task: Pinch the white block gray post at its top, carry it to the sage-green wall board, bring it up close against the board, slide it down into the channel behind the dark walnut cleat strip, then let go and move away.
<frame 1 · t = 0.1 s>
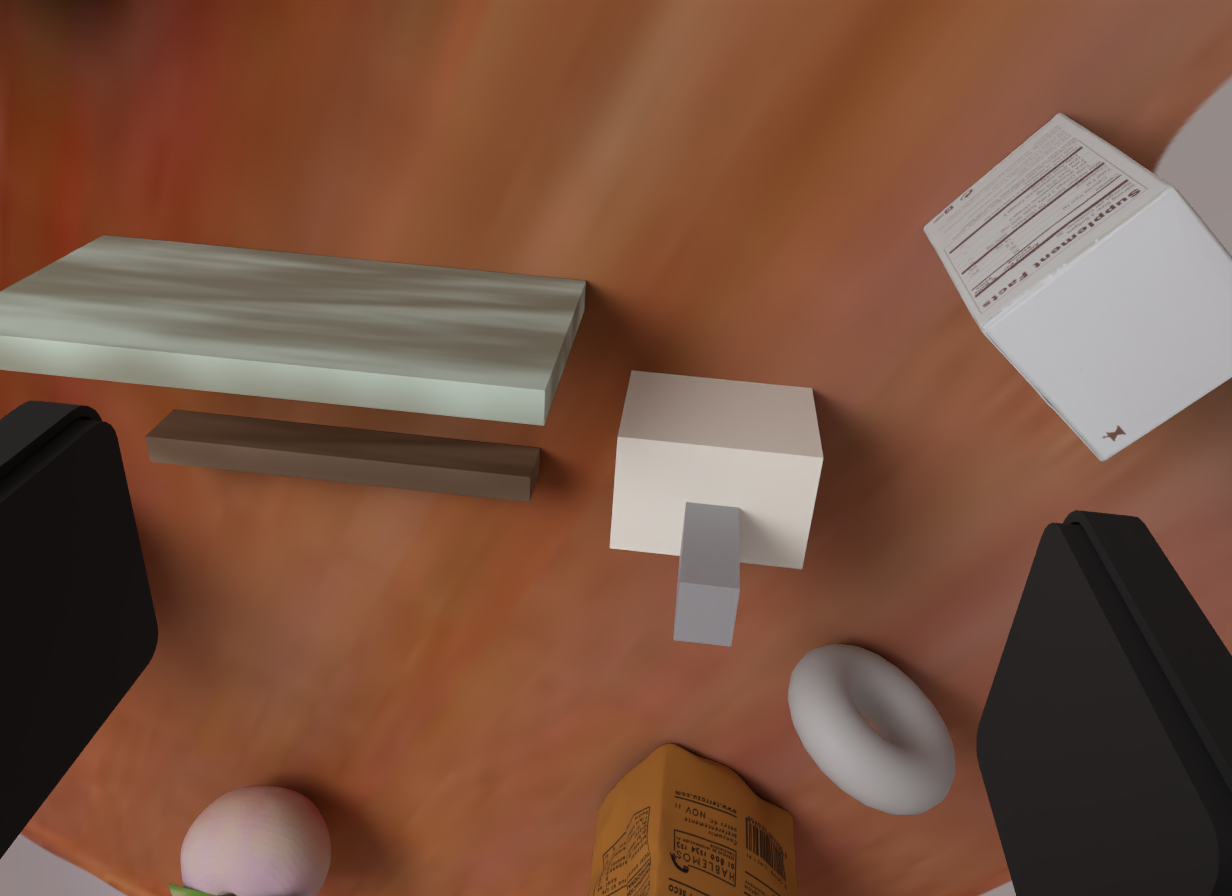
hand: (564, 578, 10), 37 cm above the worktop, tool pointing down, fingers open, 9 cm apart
decorative fruit: (285, 787, 68), on the worktop
supplement box: (1034, 224, 44), on the worktop
white block gray post: (714, 431, 51), on the worktop
coffee package: (697, 807, 65), on the worktop
wall board: (349, 360, 51), on the worktop
donut: (860, 659, 57), on the worktop
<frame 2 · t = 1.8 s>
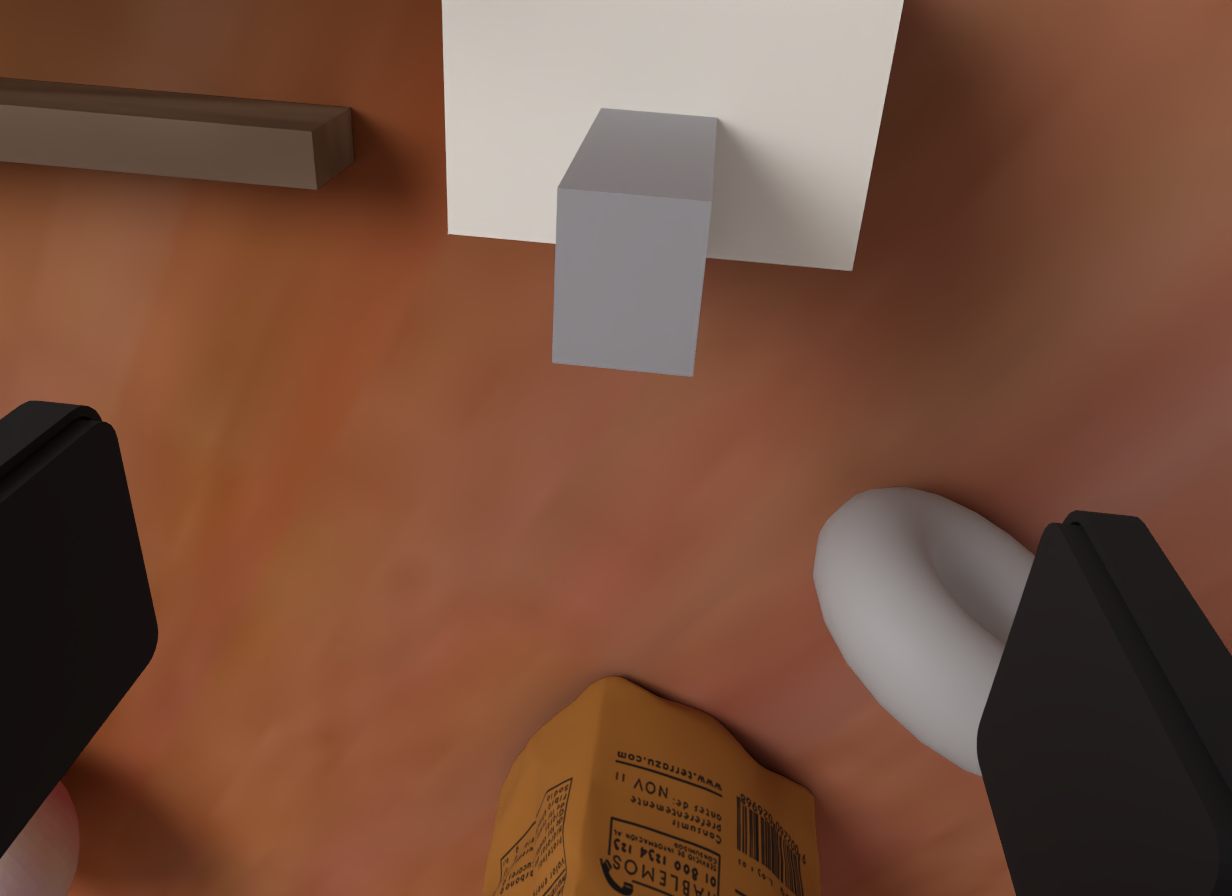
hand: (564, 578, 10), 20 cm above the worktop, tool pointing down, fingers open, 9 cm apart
decorative fruit: (26, 751, 44), on the worktop
white block gray post: (675, 57, 26), on the worktop
coffee package: (662, 781, 41), on the worktop
donut: (935, 524, 33), on the worktop
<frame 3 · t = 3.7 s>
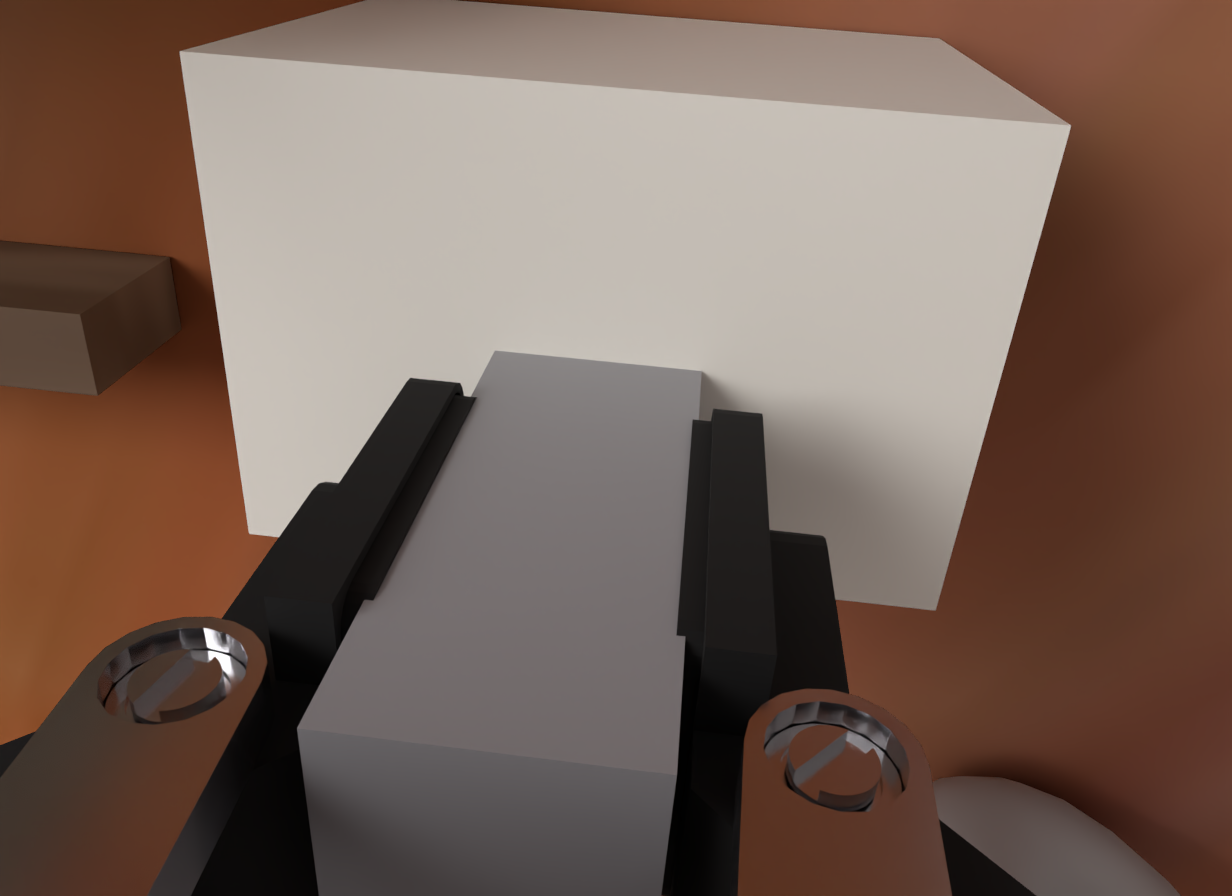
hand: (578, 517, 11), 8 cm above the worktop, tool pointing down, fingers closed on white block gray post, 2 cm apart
white block gray post: (644, 200, 17), on the worktop, touching gripper
donut: (1011, 803, 24), on the worktop
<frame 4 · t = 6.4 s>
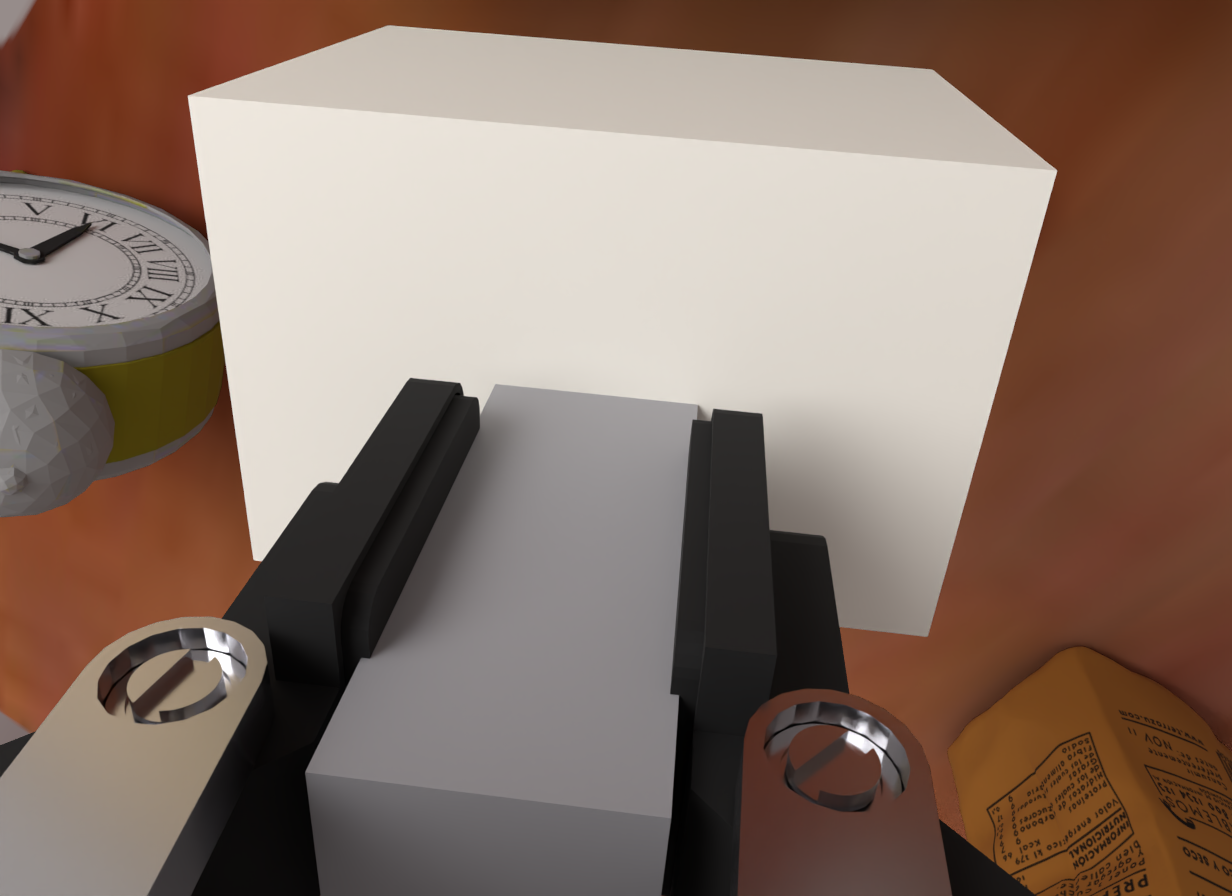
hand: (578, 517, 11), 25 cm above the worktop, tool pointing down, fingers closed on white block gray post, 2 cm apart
alarm clock: (149, 261, 38), on the worktop
white block gray post: (642, 225, 18), point 17 cm above the worktop, touching gripper
coffee package: (1088, 744, 45), on the worktop
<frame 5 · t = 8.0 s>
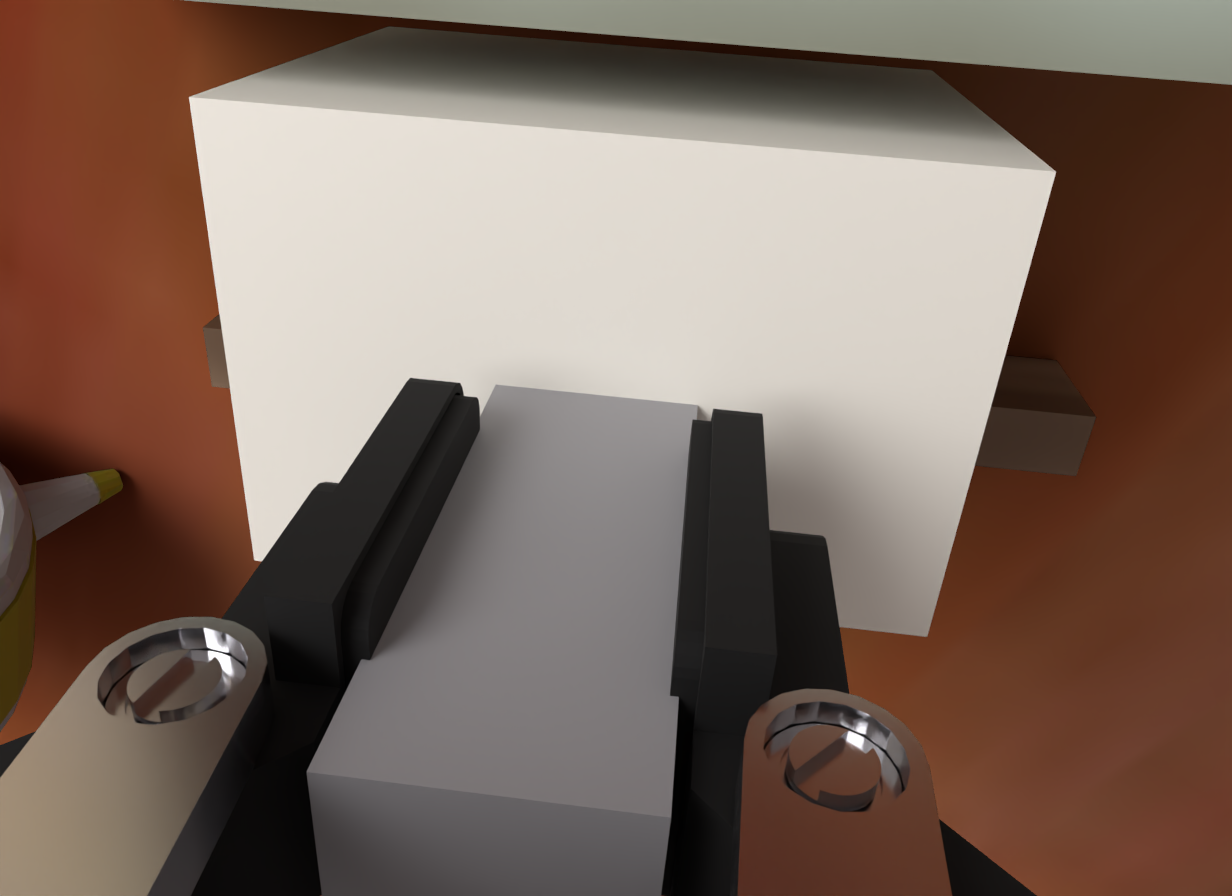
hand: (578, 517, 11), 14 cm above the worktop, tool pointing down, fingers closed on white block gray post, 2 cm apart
white block gray post: (642, 226, 18), point 6 cm above the worktop, touching gripper
wall board: (661, 158, 23), on the worktop
when the fingers open (9 cm above the worktop, at t = 9.1 s): white block gray post drops 1 cm, on the worktop.
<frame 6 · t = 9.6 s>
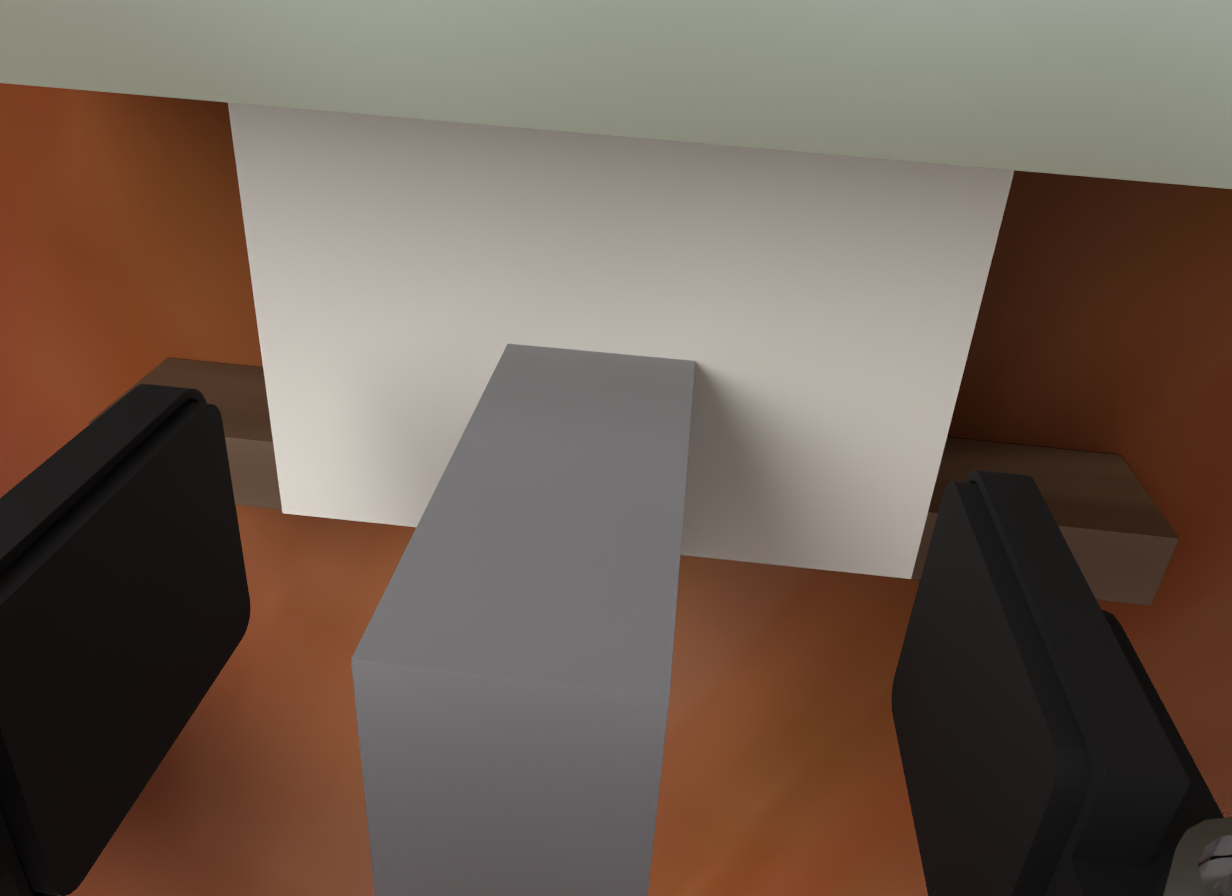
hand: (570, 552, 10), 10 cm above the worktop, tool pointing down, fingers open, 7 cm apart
white block gray post: (643, 202, 19), on the worktop
wall board: (645, 216, 19), on the worktop
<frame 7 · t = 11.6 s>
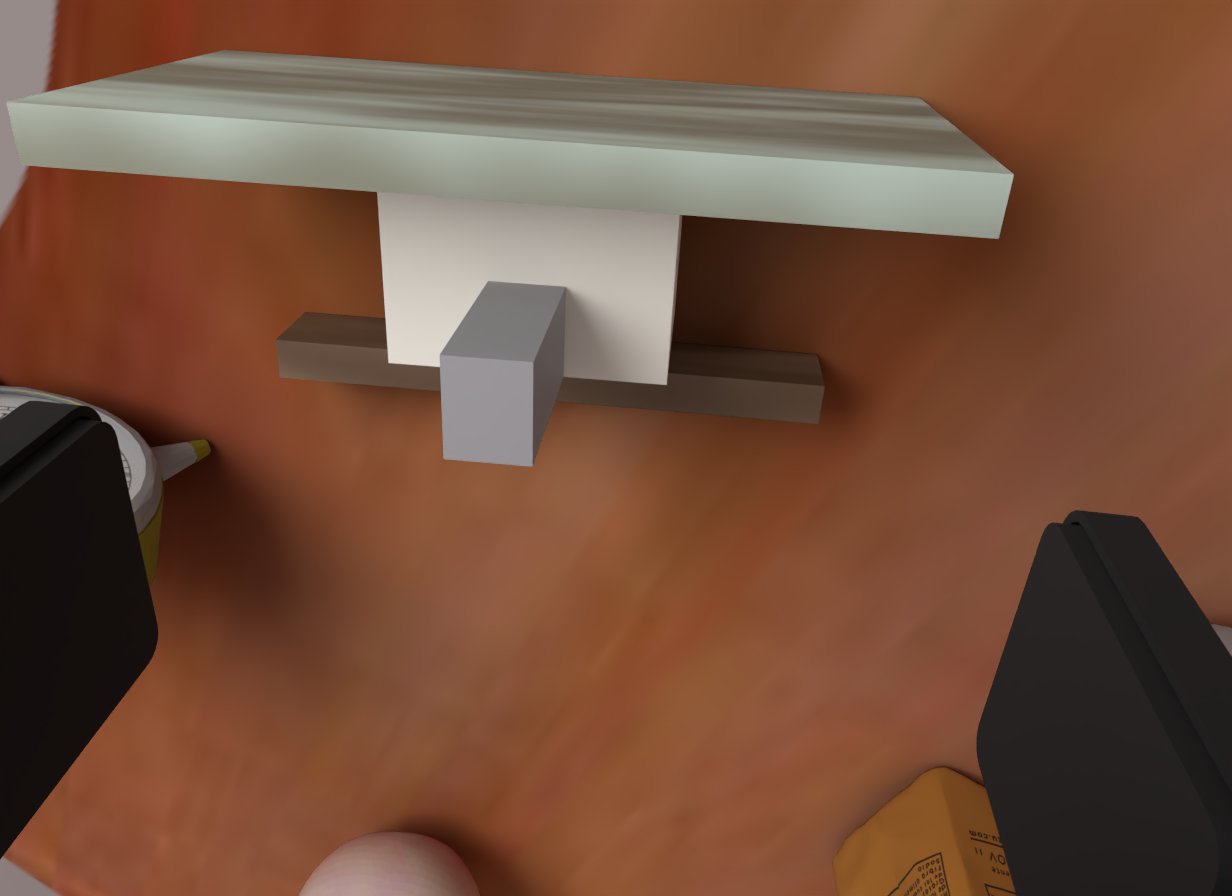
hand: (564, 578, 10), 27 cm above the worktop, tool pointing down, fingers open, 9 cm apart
decorative fruit: (413, 833, 52), on the worktop
alarm clock: (97, 444, 43), on the worktop
white block gray post: (559, 224, 36), on the worktop
coffee package: (960, 852, 49), on the worktop
wall board: (560, 231, 36), on the worktop
donut: (1219, 647, 42), on the worktop
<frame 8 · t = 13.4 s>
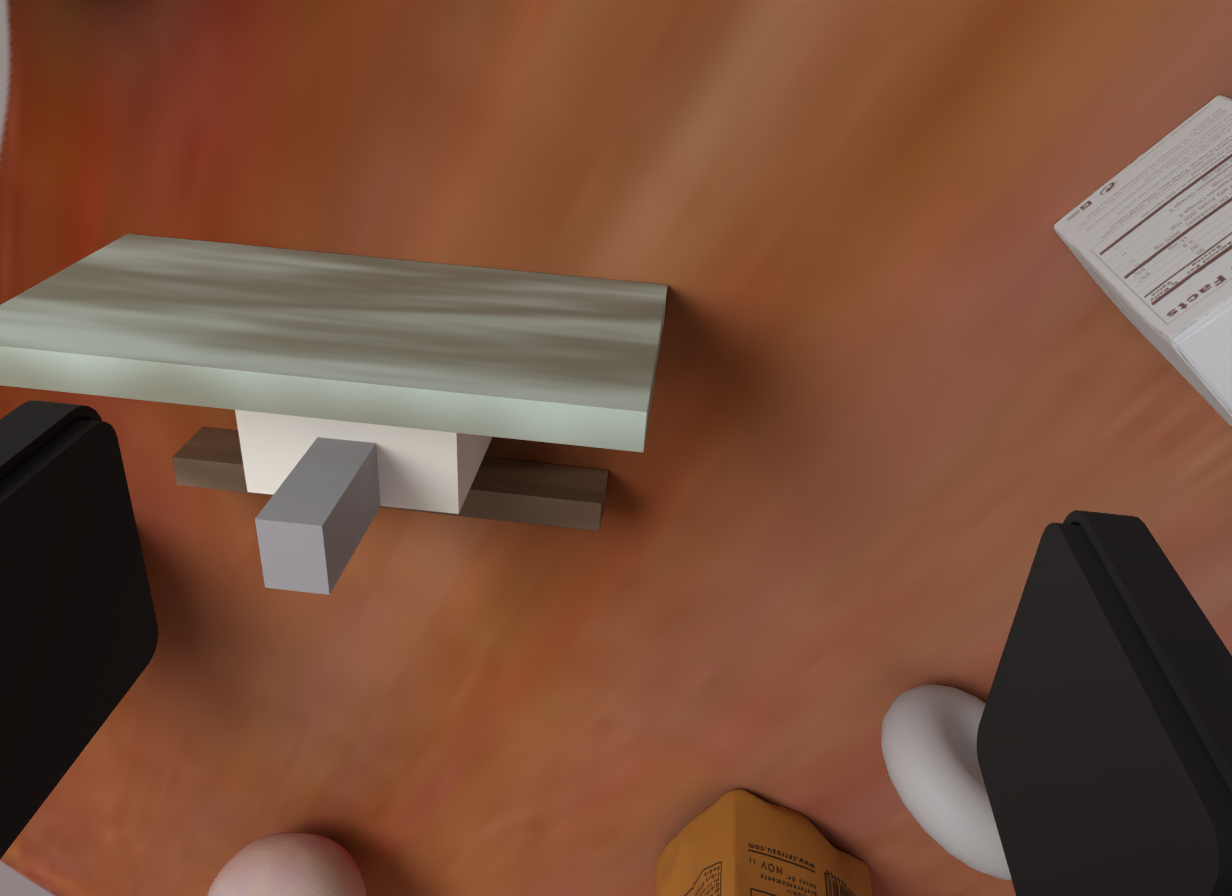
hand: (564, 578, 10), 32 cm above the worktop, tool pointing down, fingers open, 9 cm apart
decorative fruit: (315, 832, 63), on the worktop
supplement box: (1179, 222, 39), on the worktop
white block gray post: (397, 367, 46), on the worktop
coffee package: (764, 856, 60), on the worktop
wall board: (399, 373, 46), on the worktop
donut: (952, 700, 52), on the worktop
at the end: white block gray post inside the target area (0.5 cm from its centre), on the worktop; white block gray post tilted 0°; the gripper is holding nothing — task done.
